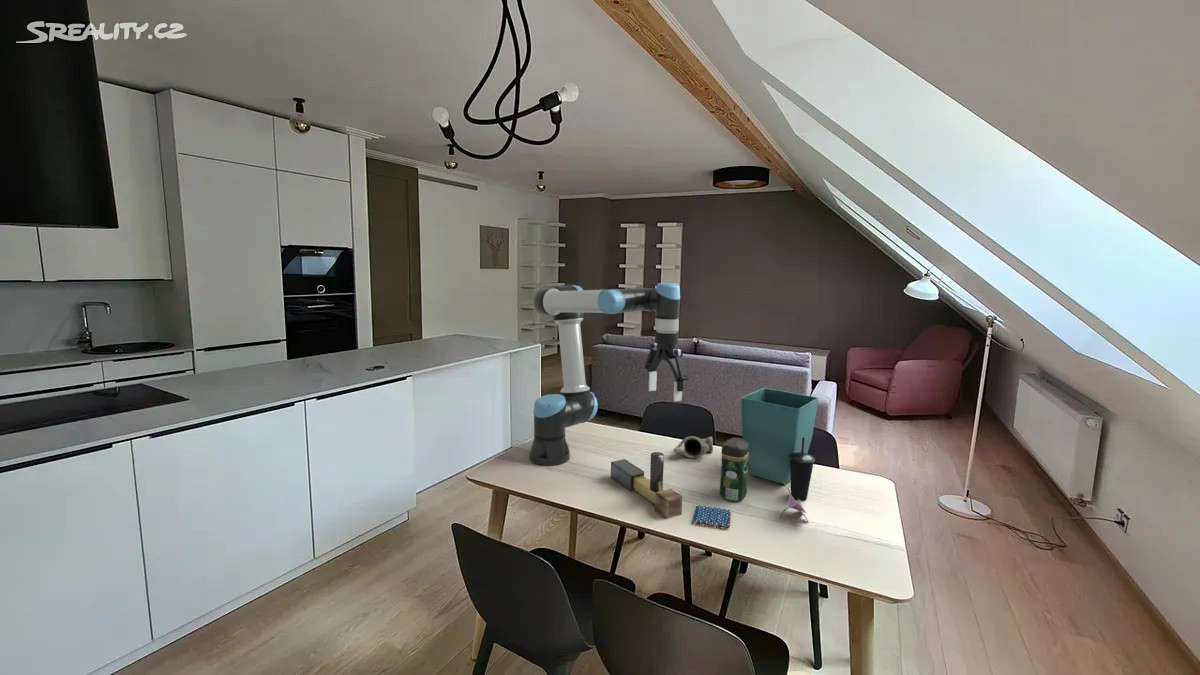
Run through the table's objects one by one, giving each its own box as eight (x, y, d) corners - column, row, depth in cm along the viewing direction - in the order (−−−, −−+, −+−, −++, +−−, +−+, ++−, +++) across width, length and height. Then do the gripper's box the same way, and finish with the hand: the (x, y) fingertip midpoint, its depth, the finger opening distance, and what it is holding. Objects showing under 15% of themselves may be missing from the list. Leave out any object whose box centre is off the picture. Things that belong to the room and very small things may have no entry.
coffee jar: (725, 487, 171) (728, 433, 168) (749, 493, 167) (752, 438, 164) (715, 498, 163) (718, 442, 160) (740, 505, 159) (744, 448, 156)
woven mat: (729, 532, 144) (730, 526, 143) (691, 526, 147) (691, 519, 146) (731, 515, 153) (731, 508, 153) (695, 509, 156) (696, 503, 156)
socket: (655, 510, 154) (655, 492, 153) (669, 506, 157) (670, 488, 156) (666, 518, 150) (667, 500, 149) (681, 514, 152) (682, 496, 151)
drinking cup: (810, 494, 167) (815, 435, 163) (812, 504, 159) (817, 443, 156) (785, 490, 169) (790, 432, 166) (786, 500, 162) (790, 440, 159)
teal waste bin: (759, 458, 195) (764, 386, 191) (813, 473, 182) (819, 396, 178) (735, 475, 180) (740, 397, 176) (792, 492, 167) (798, 409, 163)
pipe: (683, 471, 202) (682, 465, 189) (672, 451, 206) (669, 444, 193) (719, 450, 203) (720, 442, 189) (706, 431, 207) (706, 422, 193)
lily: (802, 536, 143) (820, 506, 143) (764, 510, 148) (781, 482, 148) (803, 528, 154) (819, 501, 154) (767, 505, 159) (783, 478, 159)
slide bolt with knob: (624, 482, 170) (625, 440, 168) (634, 480, 172) (635, 438, 170) (666, 512, 151) (668, 465, 148) (677, 509, 153) (679, 462, 150)
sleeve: (610, 477, 177) (610, 461, 176) (624, 474, 179) (624, 458, 178) (629, 491, 166) (630, 475, 165) (643, 488, 169) (644, 471, 168)
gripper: (701, 336, 156) (698, 403, 159) (653, 325, 177) (651, 385, 180) (682, 337, 152) (679, 406, 155) (635, 327, 173) (633, 388, 177)
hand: (664, 395), depth 168 cm, fingers open, 13 cm apart
